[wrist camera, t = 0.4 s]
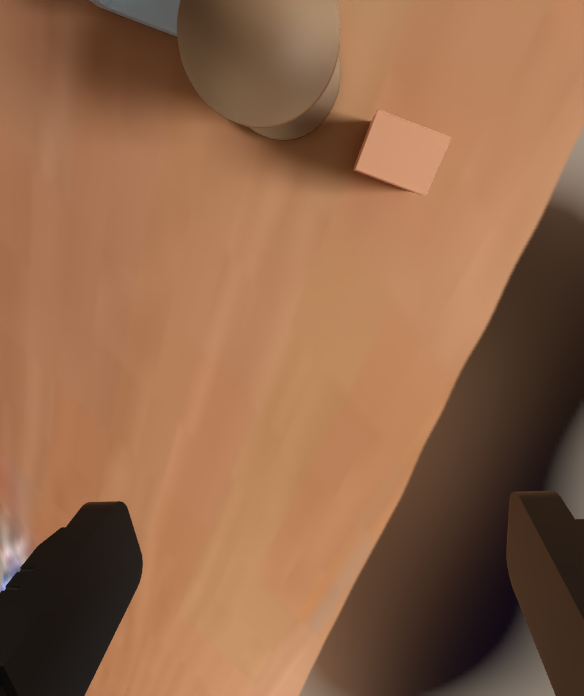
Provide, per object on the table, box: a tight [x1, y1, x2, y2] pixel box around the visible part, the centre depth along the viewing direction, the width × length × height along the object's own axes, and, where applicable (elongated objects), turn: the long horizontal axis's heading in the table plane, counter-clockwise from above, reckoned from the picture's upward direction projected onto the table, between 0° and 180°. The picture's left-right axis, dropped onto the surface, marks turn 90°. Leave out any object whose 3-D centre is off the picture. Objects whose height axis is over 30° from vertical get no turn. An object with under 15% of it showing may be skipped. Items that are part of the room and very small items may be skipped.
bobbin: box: [177, 0, 340, 140], centre depth 24 cm, size 7×7×10 cm
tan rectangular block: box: [353, 109, 452, 196], centre depth 27 cm, size 3×4×6 cm
